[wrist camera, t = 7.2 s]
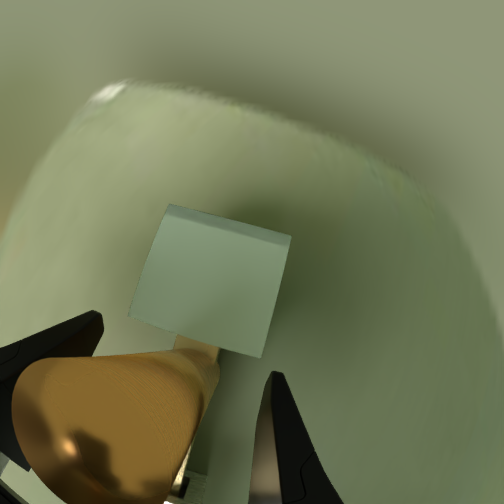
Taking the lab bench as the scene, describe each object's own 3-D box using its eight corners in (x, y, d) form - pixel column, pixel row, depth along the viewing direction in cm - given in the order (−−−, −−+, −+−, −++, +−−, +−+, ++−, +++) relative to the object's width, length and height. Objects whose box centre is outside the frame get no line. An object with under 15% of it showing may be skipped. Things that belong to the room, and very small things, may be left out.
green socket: (252, 352, 16) (260, 358, 11) (161, 324, 17) (127, 315, 11) (274, 269, 18) (291, 235, 12) (188, 245, 18) (169, 203, 13)
